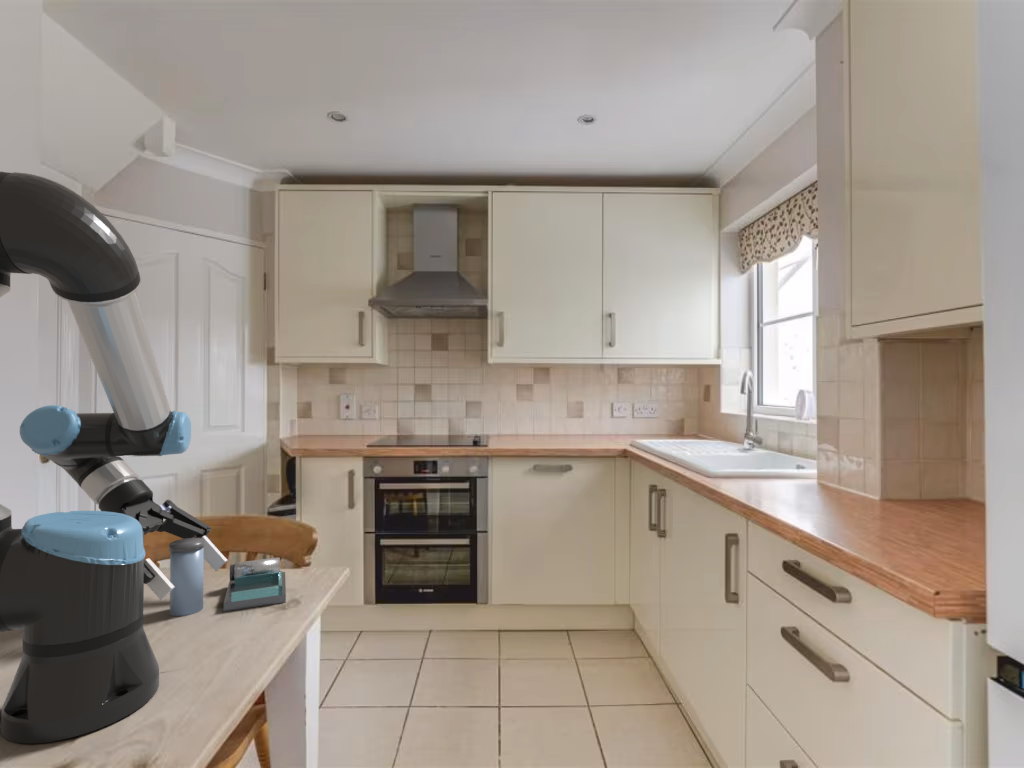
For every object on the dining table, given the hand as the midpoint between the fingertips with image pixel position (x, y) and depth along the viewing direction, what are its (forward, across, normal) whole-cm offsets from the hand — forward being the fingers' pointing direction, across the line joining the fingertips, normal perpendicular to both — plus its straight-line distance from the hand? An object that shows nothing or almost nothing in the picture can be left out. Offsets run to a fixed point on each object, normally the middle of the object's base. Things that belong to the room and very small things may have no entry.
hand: (196, 578), depth 93 cm
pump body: (+3, 0, -5) cm, 6 cm away
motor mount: (+8, -8, +1) cm, 11 cm away
